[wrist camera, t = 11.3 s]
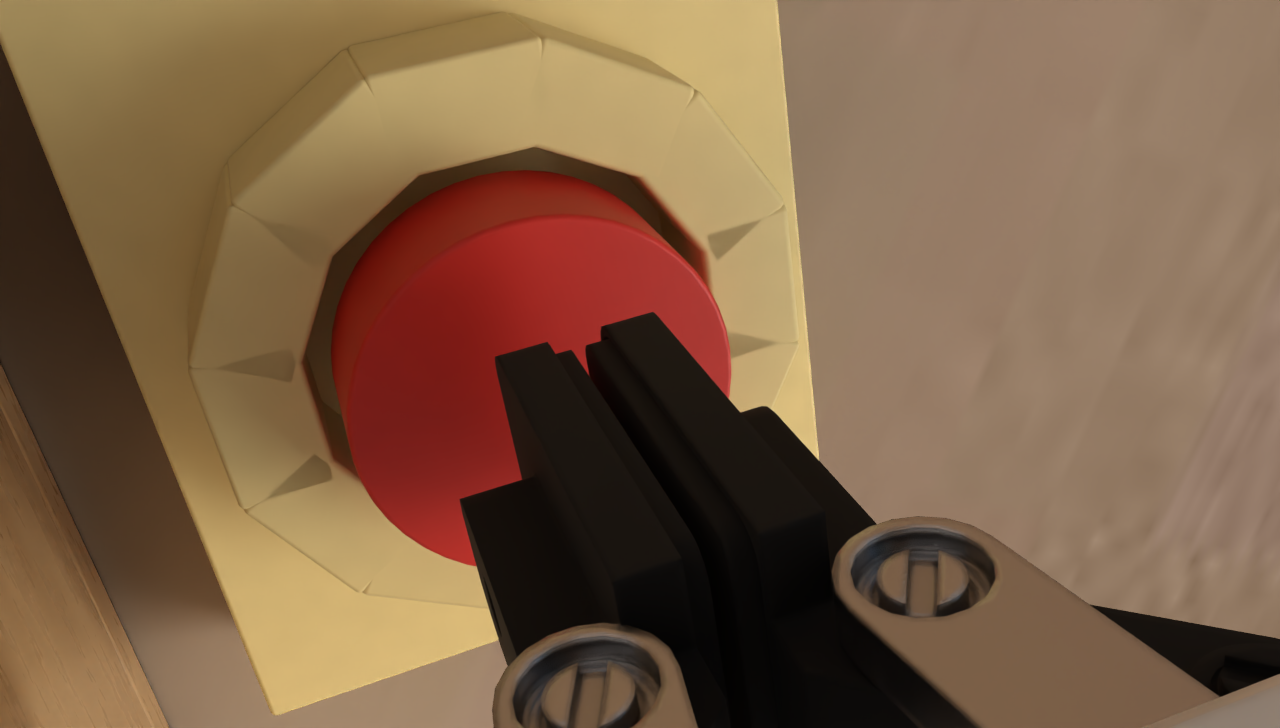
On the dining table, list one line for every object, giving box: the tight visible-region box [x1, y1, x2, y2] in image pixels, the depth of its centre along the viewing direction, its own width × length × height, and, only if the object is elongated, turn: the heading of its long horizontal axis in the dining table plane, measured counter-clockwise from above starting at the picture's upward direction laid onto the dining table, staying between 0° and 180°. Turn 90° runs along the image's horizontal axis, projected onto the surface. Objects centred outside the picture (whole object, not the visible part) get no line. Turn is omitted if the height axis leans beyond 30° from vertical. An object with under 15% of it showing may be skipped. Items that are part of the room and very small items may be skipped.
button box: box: [0, 0, 819, 715], centre depth 16 cm, size 11×9×4 cm
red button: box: [331, 170, 731, 567], centre depth 14 cm, size 4×4×2 cm
